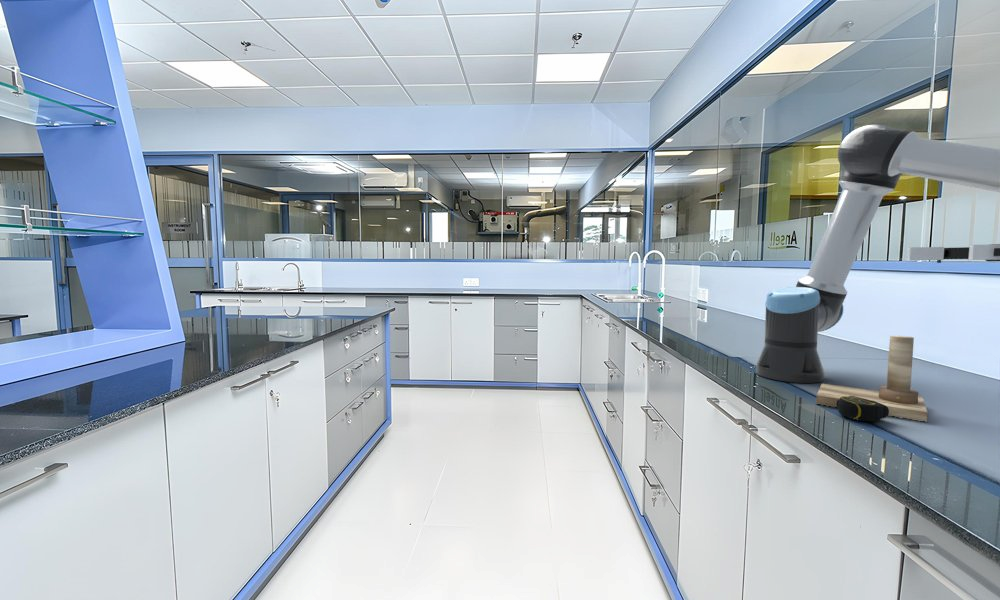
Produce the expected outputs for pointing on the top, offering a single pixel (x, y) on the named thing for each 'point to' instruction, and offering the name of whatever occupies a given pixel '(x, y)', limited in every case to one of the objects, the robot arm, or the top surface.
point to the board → (833, 393)
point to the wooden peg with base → (899, 372)
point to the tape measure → (861, 408)
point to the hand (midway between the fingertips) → (937, 253)
